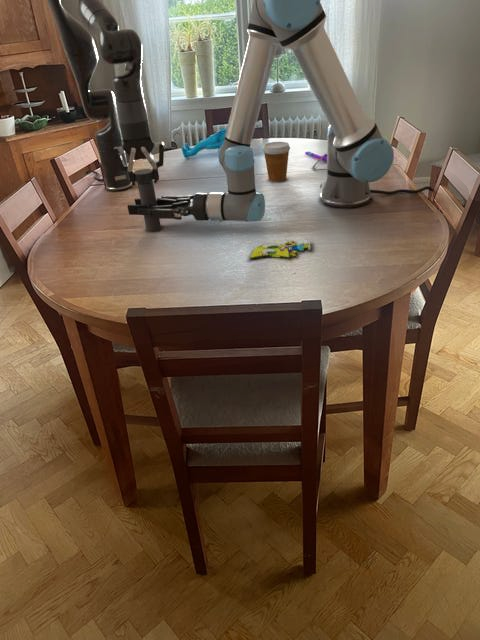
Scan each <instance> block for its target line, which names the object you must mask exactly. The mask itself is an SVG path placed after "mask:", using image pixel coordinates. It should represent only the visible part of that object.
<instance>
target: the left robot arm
mask: <svg viewBox="0 0 480 640" xmlns="http://www.w3.org/2000/svg"><path fill="white" fill-rule="evenodd" d="M45 2H46V4H47V6H48V9H49V11H50V13H51V16H52V18H53V21H54V24H55V26H56V30H57V32H58V36H59V39H60V41H61V45H62V49H63V51H64V54H65V56H66V60H67V62H68V64H69V67H70V70H71V72H72V75H73V77H74V80H75V83H76V87H77V91H78V93H79V97H80V101H81V105H82V107H83V111H84V113H85V115H86V118H87V119H89V120H90V121H101V120H108V124H106V125H105V126H104V127H102V128H100V129H98V130H97V131H95V132H94V139H95V143H96V147H97V153H98V156H99V160H100V162H99V163H98V164H99V168H100V173H101V177H102V178H98V177H99V176H100V173H99V172H98V171H96V170H93V169H88V170H86V171H85V175H88V174H89V173H93V174H95V175H94V176H93V180H95V181H98V182H103V185H104V189H106V190H107V191H111V192H120V191H124V190H127V189H130V188H132V187H133V186H137V182H136V181H135V177H134V172H135V170H134V169H133V168H134V162H135V161H138V160H147V162H148V163H149V164H150V166H151V167H152V169H151V170H152V171H153V177H154V180H153V183H154V184H158V181H159V180H160V174H159V168H161V167H164V161H165V160H164V158H165V157H164V156H165V142H164V141H160V142H155V141H154V139H153V138H152V133H151V127H150V121H149V114H148V110H147V106H146V102H145V99H144V93H143V87H142V63H143V61H142V60H143V43H142V40H141V37H140V35H139V34H138V33H137V32H136V31H135V30H134V29H131V28H125V29H119V28H120V27H119V23H118V21H117V19H116V17H115V16H114V15H113V14H112V12H111V11H110V10H109V9H108V7H106V5H105V4H104V3H103V2H102V0H77V12H78V17H79V19H80V21H81V22H80V21H78V20H77V19H76V18H75V17H73V16H72V15H71V14H70V13H69V12H68V11H67V9H66V8H65V7H64V6H63V5H62V2H61V0H45ZM99 58H100V59H101V60H102V61H103V62H104V63H106V64H108V65H110V66H111V65H114V66H115V65H120V64H121V65H122V64H125V69H124V71H122V72H121V73H119V74H117V75H115V76H114V77H112V89H113V91H112V90H111V89H110V88H104V89H103V88H102V89H94V90H90V85H91V81H92V78H93V76H94V73H95V71H96V69H97V67H98V66H97V65H98V64H99V63H98V62H99ZM154 147H155V150H156V151H157V152H158V161H156V160H155V157H154V156H153V154H152V151H153V150H154ZM126 154H127V155H128V156H129V158H128V159H129V160H127V155H126Z"/></svg>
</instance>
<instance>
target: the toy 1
mask: <svg viewBox="0 0 480 640" xmlns="http://www.w3.org/2000/svg"><path fill="white" fill-rule="evenodd" d="M226 130H227V128H221V129H220V130H219V131H217V132H215V133H214V134H212V135H209V137H206V138H204V139H201V140H200V141H199V142H197V143H196V144H195V145H194V146H193V147H190V145H189V143H187V142H186V143H184V146H183V145H182V146H181V147H180V149H181V153H182V155H183V157H184V158H185V159H187V158H190V157H194V156H196V155H198V153H200V152H201V151H203V150H206V151H208V150H217V154H218V153H219V149H220V147H221V146H222V145H223V142H224V139H225V134H226Z"/></svg>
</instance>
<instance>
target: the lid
mask: <svg viewBox="0 0 480 640" xmlns="http://www.w3.org/2000/svg"><path fill="white" fill-rule="evenodd" d="M134 177H135V181H136V183H138V182H139V183H144V182H149V181H154V177H153V171H152V169H150V168H143V169H138V170H134Z"/></svg>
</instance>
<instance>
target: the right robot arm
mask: <svg viewBox="0 0 480 640" xmlns="http://www.w3.org/2000/svg"><path fill="white" fill-rule="evenodd" d="M250 9H251V10H250V15H249V20H248V25H247V28H246V32H247V34H248V40H247V41H248V42H247V45H246V49H245V54H244V57H243V61H242V65H241V69H240V74H239V78H238V82H237V85H236V90H235V94H234V97H233V102H232V106H231V109H230V114H229V118H228V123H227V127H226V129H227V130H226V134H225V139H224V142H223V145H222V146H221V147H220V149H218V150H219V153H218V152H217V154H218V156H217V157H218V162H219V165H220V166H221V167H222V169H223V171H224V173H225V177H226V185H227V192H210V193H208V192H197V193H195V194H188V195H161V196H160V197H156V201H157V206H150V204H148V205H142V204H141V199H140V198H134V203H135V204H127V211H128V215H131V216H144V215H149V218H154V219H162V220H177V221H181V220H182V219H183V218H182V217H189V216H192V217H193V218H194V220H196V221H197V222H198V221H200V222H201V221H202V222H203V221H205V222H206V221H207V222H208V221H212V222H213V221H218V222H219V223H222V222H229V221H231V222H257V221H262V220H263V218H264V216H265V211H266V199H265V195H264V194H263V193H262V192H258V191H257V189H256V178H255V158H254V151H253V148H252V147H251V143H252V140H253V136H254V132H255V130H256V125H257V122H258V119H259V115H260V112H261V109H262V108H261V107H262V104H263V101H264V97H265V93H266V91H267V90H266V89H267V87H268V83H269V78H270V75H271V71H272V68H273V64H274V61H275V58H276V53H277V50H278V46H279V45H280V46H281V48H282V49H286V50H290V51H291V52H292V54H293V56H294V58H295V59H296V63H297V64H298V66H299V68H300V71H302V74H303V75H304V78H305V79H306V81H307V83H308V85H309V88H310V89H311V91H312V93H313V95H314V97H315V98H316V101H317V103H318V105H319V106H320V108H321V111H322V113H323V114H324V117H325V118H326V120H327V122H328V124H329V126H328V127H327V135H326V138H327V148H326V149H327V151H326V154H327V162H326V169H327V170H326V177H325V180H324V183H323V182H321V183H320V186H319V189H321V188H322V189H321V191H320V202H321V203H322V204H324V205H325V206H328V207H333V208H340V209H342V208H345V209H346V208H348V209H349V208H358V207H361V206H365V205H366V204H368V203H369V202H371V197H372V194H380V195H395V194H399V193H406V194H419V193H422V192H424V191H426V190H429V192H434V191H435V190H434V188H433V187H431V186H429V185H426V186H424V187H421V188H419V189H405V188H404V189H397V190H391V191H390V190H389V191H388V190H387V191H386V190H379V189H371V188H370V184H369V183H374V182H377V181H379V180H381V179H382V178H384V177H385V175H387V174H388V172H389V171H390V169H391V167H392V164H393V163H394V159H395V151H394V149H393V146H392V144H391V143H390V142H389V140H387V139H386V138H383V136H382V133H381V132H380V129H379V127H378V125H377V123H376V121H375V119H374V118H371V117H367V116H366V114H365V112H364V110H363V108H362V106H361V104H360V101H359V100H358V97H357V95H356V93H355V91H354V88H353V87H352V85H351V83H350V80H349V78H348V76H347V74H346V72H345V69H344V68H343V65H342V63H341V61H340V59H339V56H338V55H337V53H336V50H335V48H334V46H333V44H332V42H331V40H330V38H329V35H328V33H327V31H326V28H325V23H326V20H327V14H326V12H325V10H324V8H323V5H322V3H321V0H252V4H251V8H250Z"/></svg>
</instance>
